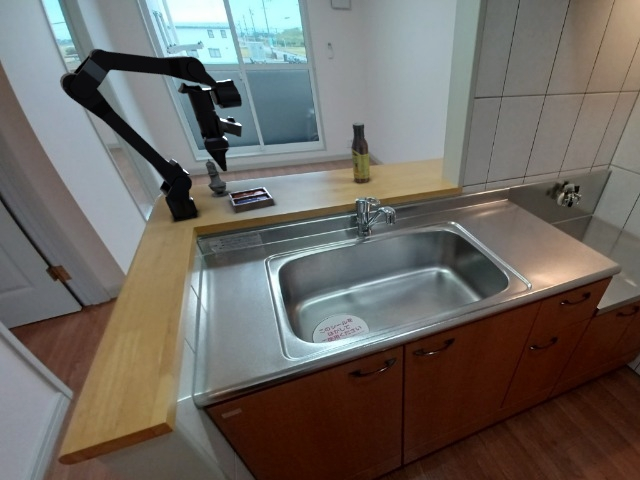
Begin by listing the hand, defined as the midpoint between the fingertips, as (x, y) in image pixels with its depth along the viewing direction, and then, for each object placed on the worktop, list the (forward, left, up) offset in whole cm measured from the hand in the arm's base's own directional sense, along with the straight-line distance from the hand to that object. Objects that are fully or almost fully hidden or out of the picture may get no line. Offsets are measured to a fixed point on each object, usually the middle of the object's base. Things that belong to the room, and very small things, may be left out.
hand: (223, 167), depth 103 cm
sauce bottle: (+46, -3, -12) cm, 47 cm away
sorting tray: (+5, -3, -11) cm, 13 cm away
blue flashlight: (+5, -6, -11) cm, 13 cm away
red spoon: (+5, -1, -11) cm, 12 cm away
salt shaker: (-3, +11, -12) cm, 16 cm away
